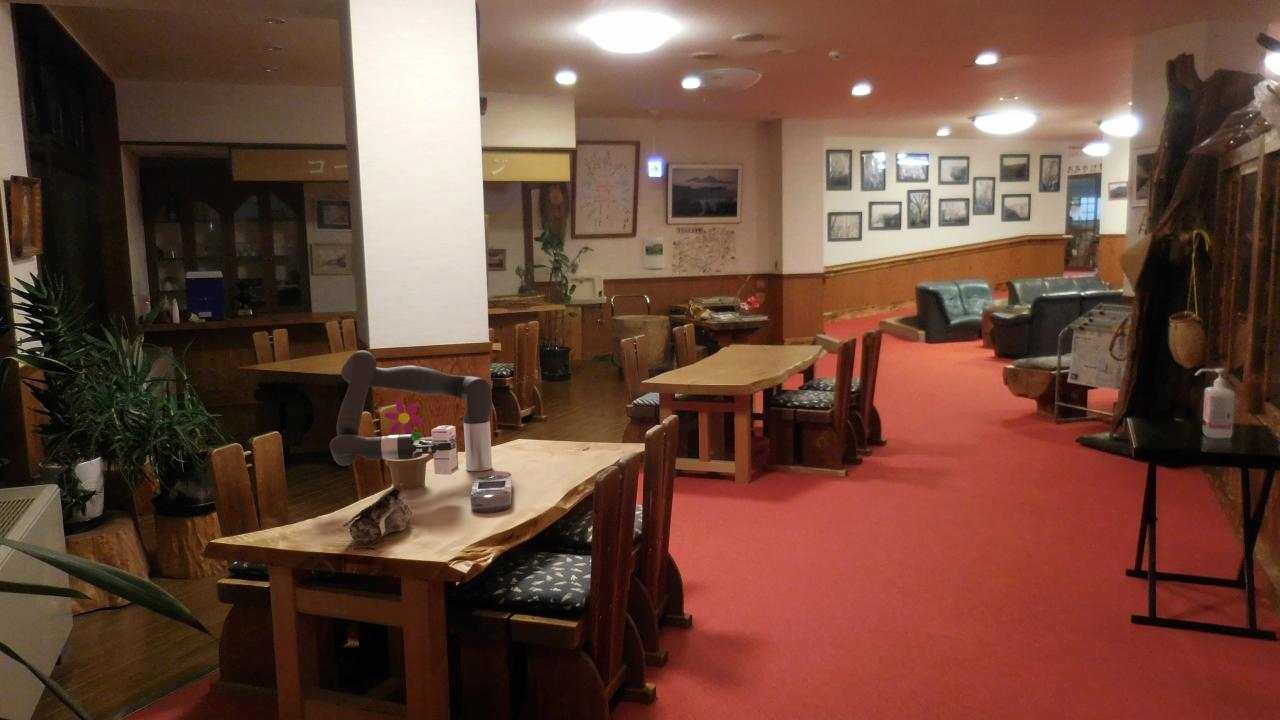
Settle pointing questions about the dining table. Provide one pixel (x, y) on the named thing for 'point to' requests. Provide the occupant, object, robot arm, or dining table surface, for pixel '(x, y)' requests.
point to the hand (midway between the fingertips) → (451, 443)
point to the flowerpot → (411, 468)
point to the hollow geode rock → (381, 518)
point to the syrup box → (448, 458)
